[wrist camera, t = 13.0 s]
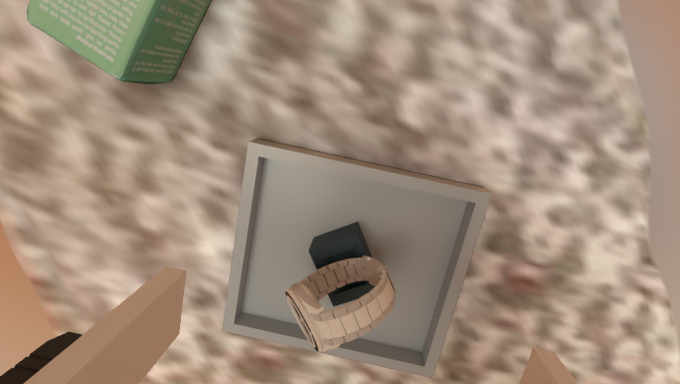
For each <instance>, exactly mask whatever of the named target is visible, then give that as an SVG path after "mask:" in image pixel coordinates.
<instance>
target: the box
mask: <svg viewBox="0 0 680 384" xmlns="http://www.w3.org/2000/svg"><path fill="white" fill-rule="evenodd" d="M210 1H211V0H30V2H29V5H28V8H27V18H28V22H29V23H30V24H31V25H33V26H35V27H36V28H38V29H40V30H41V31H43V32H45V33H46V34H48V35H49V36H51V37H53V38H54V39H56V40H57V41H59V42H60V43H62V44H63V45H65V46H66V47H68V48H69V49H71V50H72V51H74V52H75V53H77V54H79V55H80V56H82V57H83V58H85V59H86V60H88V61H89V62H91V63H92V64H94V65H96V66H97V67H99V68H100V69H102V70H103V71H105V72H106V73H108V74H109V75H111V76H113V77H114V78H116V79H118V80H120V81H123V82H132V83H143V84H158V83H166V82H170V81H171V80H172V78H173V77H174V76H175V74H176V72H177V70H178V68H179V66H180V64H181V62H182V60H183V57H184V55H185V53H186V51H187V49H188V47H189V45H190V43H191V41H192V39H193V37H194V35H195V33H196V31H197V29H198V26H199V24H200V22H201V20H202V18H203V16H204V14H205V11H206V9H207V7H208V5H209V3H210Z"/></svg>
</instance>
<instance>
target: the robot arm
mask: <svg viewBox="0 0 680 384" xmlns="http://www.w3.org/2000/svg"><path fill="white" fill-rule="evenodd" d="M185 276H186V271H185V270H180V269H176V268H171V267H167V266H166V267H165V268H164V269H162V270H161V271H160V272H159V273H158V274H156V275H155V276H154V277H153V278H151V279H150V280H149V281H148V282H147V283H145V284H144V285H143V286H142V287H140V288H139V289H138V290H137V291H136V292H134V293H133V294H132V295H131V296H130V297H128V298H127V299H126V300H125V301H123V302H122V303H121V304H120V305H119V306H117V307H116V308H115V309H114V310H112V311H111V312H110V313H109V314H108V315H106V316H105V317H104V318H103V319H102V320H100V321H99V322H98V323H97V324H95V325H94V326H93V327H92V328H91V329H89V330H88V331H87V332H86V333H84V334H83V335H81V334H77V333H73V332H67V333H65V334H63V335H60V336H58V337H56V338H53V339H51V340H49V341H47V342H46V343H44V344H43V345H42V346H40V347H39V348H38V349H36V350H35V351H34V352H33V353H31V354H30V356H29V357H26V358H24V359H23V360H22V361H20V362H19V363H18V364H16V365H15V367H14V368H11V369H10V370H8V371H7V372H6V373H5V374H3V375H2V376H0V384H139V383H140V382H141V381H142V379H143V378H144V377H145V376H146V374H147V373H148V372H149V371H150V369H151V368H152V367H153V366H154V365H155V363H156V362H157V361H158V360H159V358H160V357H161V356H162V355H163V353H164V352H165V351H166V350H167V348H168V347H169V346H170V345H171V343H172V342H173V341H174V340H175V338H176V337H177V336H178V335H179V330H180V321H181V312H182V303H183V294H184V285H185ZM520 384H577V382H576V381H575V380H574V378H573V377H572V376H571V374H570V373H569V372H568V370H567V369H566V368H565V366H564V365H563V364H562V362H561V361H560V360H559V358H558V357H557V356H556V354H555V353H554V352H550V351H546V350H541V349H537V348H533V350H532V353H531V356H530V358H529V361H528V363H527V366H526V368H525V371H524V374H523V376H522V379H521V381H520Z"/></svg>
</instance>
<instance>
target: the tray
mask: <svg viewBox="0 0 680 384" xmlns="http://www.w3.org/2000/svg"><path fill="white" fill-rule="evenodd" d="M491 195H492V194H491V193H490V192H488V191H487V190H486V189H485V188H483V187H481V186H476V185H472V184H467V183H462V182H458V181H453V180H449V179H444V178H439V177H435V176H430V175H425V174H421V173H416V172H411V171H407V170H402V169H397V168H393V167H388V166H383V165H379V164H374V163H369V162H365V161H360V160H356V159H351V158H346V157H342V156H337V155H332V154H328V153H323V152H318V151H314V150H309V149H304V148H300V147H295V146H290V145H286V144H281V143H276V142H272V141H267V140H262V139H258V138H257V139H254V140H252V141H249V142H248V149H247V156H246V163H245V170H244V177H243V185H242V192H241V199H240V206H239V213H238V221H237V228H236V235H235V242H234V249H233V256H232V264H231V271H230V278H229V285H228V292H227V299H226V307H225V314H224V321H223V328H222V331H226V332H231V333H235V334H239V335H244V336H248V337H253V338H257V339H262V340H266V341H270V342H275V343H279V344H284V345H288V346H293V347H297V348H302V349H306V350H310V351H315V352H317V351H316V350H315V349H314V348H313V346H312V345H311V344H310V342H309V341H308V339H307V338H306V336H305V334H304V333H303V331H302V329H301V328H300V326H299V324H298V322H297V320H296V318H295V316H294V314H293V312H292V310H291V308H290V305H289V303H288V300H287V298H286V294H285V289H287V288H290V287H291V286H292V285H293V284H295V283H300V281H302V280H303V279H304V278H306V277H308V275H310V274H311V273H313V272H315V271H317V269H316V267H315V265H314V262H313V260H312V258H311V256H310V253H309V248H310V245H311V243H312V240H313V238H314V237H316V236H319V235H321V234H324V233H327V232H330V231H333V230H335V229H338V228H341V227H344V226H347V225H350V224H352V223H355V222H358V223H359V226H360V228H361V230H362V233H363V235H364V238H365V240H366V243H367V245H368V248H369V250H370V253H371V255H372V257H373V258H374V259H377V260H378V261H380V262H381V263H383V264H384V265H385V266H386V268H387V270H388V272H389V274H390V277H391V279H392V281H393V284H394V287H395V289H396V294H395V295H396V296H395V297H396V301H395V304H394V307H393V309H392V310H391V311H390V313H389V314H388V316H387V317H386V318H385V319H384V320H383V321H382V322H381V323H380V324H379V325H378V326H377V327H375V328H374V329H371V331H369V332H368V333H366V334H365V335H363V336H361V337H358V338H356V339H354V340H352V341H349V342H346V341H345V343H342V344H340V346H339V347H337V348H335V349H328V350H326V351H324V352H320V353H324V354H328V355H333V356H337V357H341V358H346V359H350V360H355V361H359V362H364V363H368V364H372V365H377V366H381V367H386V368H390V369H395V370H399V371H404V372H408V373H412V374H417V375H421V376H426V377H430V378H433V374H434V371H435V368H436V365H437V362H438V359H439V356H440V353H441V350H442V347H443V344H444V340H445V337H446V334H447V331H448V328H449V325H450V322H451V319H452V316H453V313H454V310H455V306H456V303H457V300H458V297H459V294H460V291H461V288H462V285H463V282H464V279H465V276H466V272H467V269H468V266H469V263H470V260H471V257H472V254H473V251H474V248H475V245H476V242H477V238H478V235H479V232H480V229H481V226H482V223H483V220H484V217H485V214H486V211H487V207H488V204H489V201H490V198H491ZM356 300H358V299H356ZM353 301H355V300H353ZM353 301H350V302H347V303H344V304H341V305H338V306H335V307H333V305H332V303H331V301H330V298H329V296H328V294H327V295H326V296H324V297H323V298H322V299H321V300H319V303H320V304H321V305H322V306H323V308H324V311H329V310H332V311H333V310H334V309H336V308H339V307H342V306H345V307H346V305H347V304H349V303H351V302H353ZM358 301H359V300H358ZM346 309H347V308H346ZM347 311H348V310H347ZM353 314H354V313H353ZM354 316H355V315H354ZM355 319H356V317H355ZM356 321H357V320H356ZM357 323H358V322H357ZM358 325H359V324H358ZM357 334H358V333H357ZM358 336H359V335H358Z"/></svg>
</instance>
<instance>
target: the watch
mask: <svg viewBox="0 0 680 384" xmlns="http://www.w3.org/2000/svg"><path fill="white" fill-rule="evenodd" d="M309 253H310V256H311V258H312V260H313V262H314V265H315V267H316V269H317V271H315V272H313V273H311V274H310V275H308V277H306V278H304V279H303V280H302V281H300V283H295V284H293V285H292V286H291V287H290V288H287V289H285V294H286V298H287V300H288V303H289V305H290V308H291V310H292V312H293V314H294V316H295V318H296V320H297V322H298V324H299V326H300V328H301V329H302V331H303V333H304V334H305V336H306V338H307V339H308V341H309V342H310V344H311V345H312V346H313V348H314V349H315V350H316V351H317V352H318V353H320V352H324V351H326V350H328V349H335V348H337V347H339V346H340V344H342V343H345V341H346V342H349V341H352V340H354V339H356V338H358V337H361V336H363V335H365V334H366V333H368V332H369V331H371V329H374V328H375V327H377V326H378V325H379V324H380V323H381V322H382V321H383V320H384V319H385V318H386V317H387V316H388V314H389V313H390V311H391V310H392V309H393V307H394V304H395V301H396V297H395V296H396V295H395V294H396V289H395V287H394V284H393V281H392V279H391V277H390V274H389V272H388V270H387V268H386V266H385V265H384V264H383V263H381V262H380V261H378V260H377V259H374V258H373V257H372V255H371V253H370V250H369V248H368V245H367V243H366V240H365V238H364V235H363V233H362V230H361V228H360V226H359V223H358V222H355V223H352V224H350V225H347V226H344V227H341V228H338V229H335V230H333V231H330V232H327V233H324V234H321V235H319V236H316V237H314V238H313V240H312V243H311V245H310V248H309ZM327 294H328V296H329V298H330V301H331V303H332V305H333V307H335V306H338V305H341V304H344V303H347V302H350V301H353V300H355V301H353V302H351V303H349V304H347V305H346V307H345V306H342V307H339V308H336V309H334V310H333V311H332V310H329V311H324V308H323V306H322V305H321V304H320V303H319V300H321V299H322V298H323V297H324V296H326V295H327ZM356 299H358V300H359V301H358V300H356ZM346 308H347V309H346ZM347 310H348V311H347ZM353 313H354V314H353ZM354 315H355V316H354ZM355 317H356V319H355ZM356 320H357V321H356ZM357 322H358V323H357ZM358 324H359V325H358ZM357 333H358V334H357ZM358 335H359V336H358Z"/></svg>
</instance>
